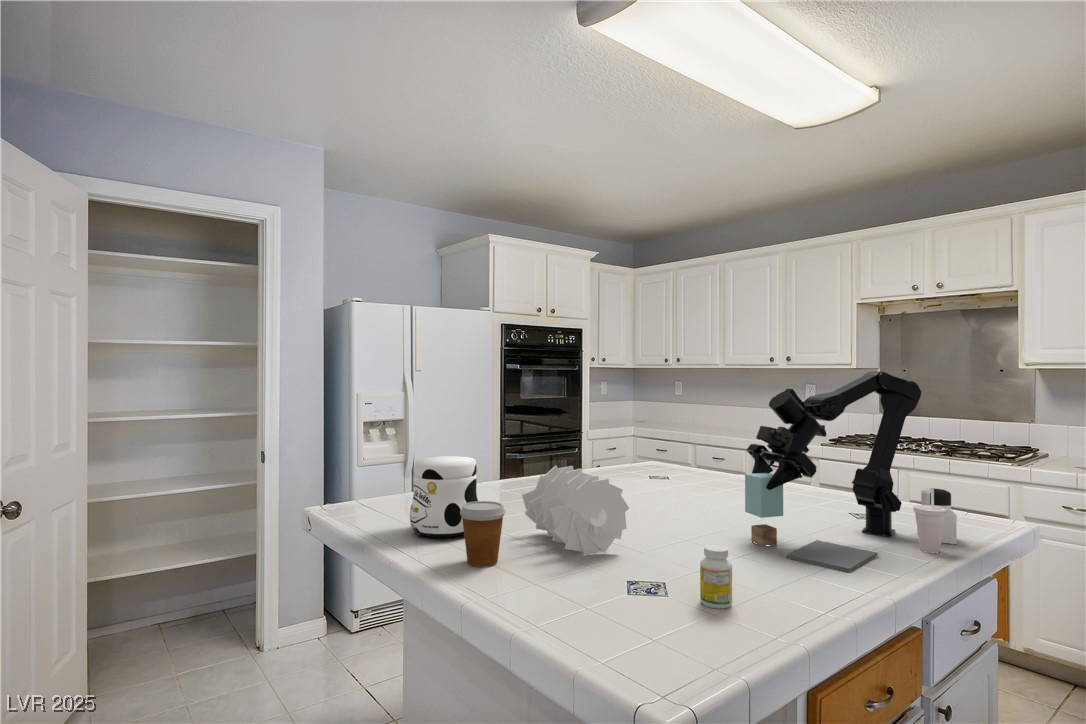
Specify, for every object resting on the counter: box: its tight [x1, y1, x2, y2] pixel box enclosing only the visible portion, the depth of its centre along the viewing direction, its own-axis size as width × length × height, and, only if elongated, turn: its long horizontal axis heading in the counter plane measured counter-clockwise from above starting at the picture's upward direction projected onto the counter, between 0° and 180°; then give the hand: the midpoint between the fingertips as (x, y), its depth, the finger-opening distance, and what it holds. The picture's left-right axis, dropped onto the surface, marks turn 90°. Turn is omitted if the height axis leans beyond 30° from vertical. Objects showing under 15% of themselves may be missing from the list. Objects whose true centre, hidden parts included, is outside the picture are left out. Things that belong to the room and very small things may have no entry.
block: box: [750, 523, 778, 547], centre depth 141 cm, size 4×4×4 cm
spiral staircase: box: [521, 464, 630, 557], centre depth 140 cm, size 18×18×25 cm
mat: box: [785, 539, 878, 573], centre depth 131 cm, size 16×13×1 cm
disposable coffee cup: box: [460, 500, 506, 568], centre depth 126 cm, size 10×10×12 cm
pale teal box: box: [744, 473, 784, 519], centre depth 141 cm, size 6×6×9 cm
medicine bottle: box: [916, 487, 958, 545], centre depth 145 cm, size 7×7×12 cm
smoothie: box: [912, 487, 947, 554], centre depth 135 cm, size 6×6×14 cm
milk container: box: [409, 455, 479, 538], centre depth 150 cm, size 17×17×18 cm
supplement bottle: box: [699, 544, 733, 610], centre depth 104 cm, size 5×5×10 cm
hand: (758, 486), depth 141 cm, fingers closed on pale teal box, 6 cm apart
